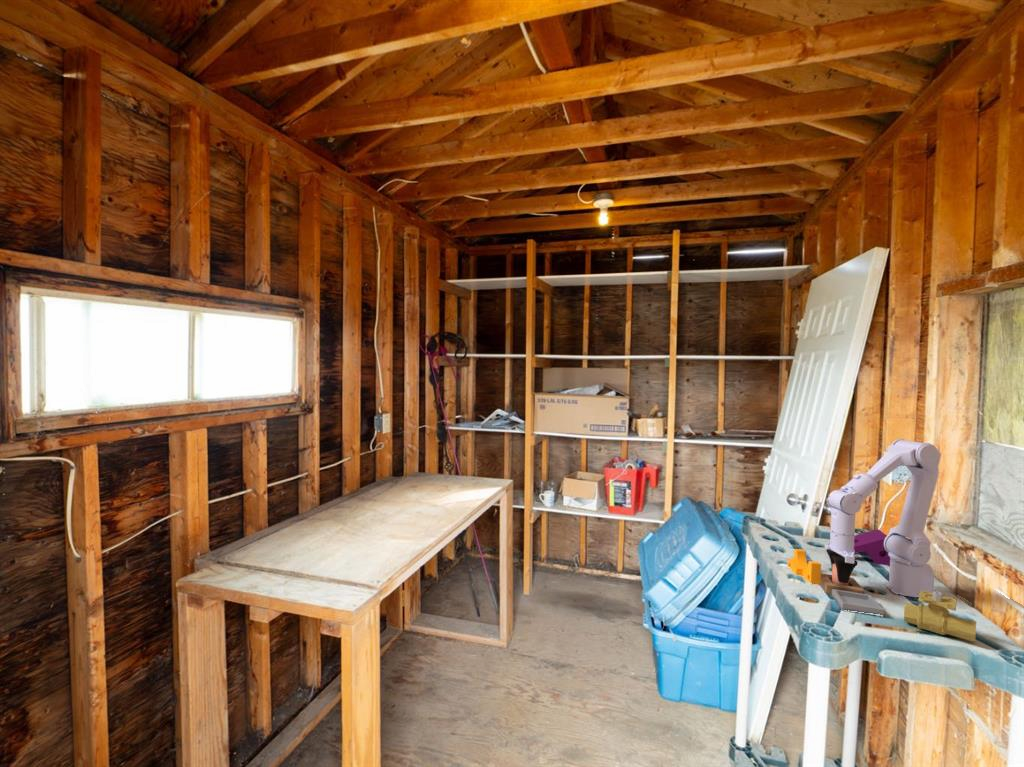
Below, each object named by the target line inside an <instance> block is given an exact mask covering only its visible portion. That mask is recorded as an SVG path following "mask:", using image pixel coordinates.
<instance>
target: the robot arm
mask: <svg viewBox="0 0 1024 767" xmlns="http://www.w3.org/2000/svg"><path fill="white" fill-rule="evenodd" d="M886 450H887V451H886V452H885V454H884V455H883V456H882V457H881V458H879V460H877V462H876V463H874V465H873V466H872V467H870V469H868V471H867V472H865V473H860V472H859V473H857V474H854V475H853V476H852V479H850V480H849V481H848V482H847V483H846V484H844V485H842V486H841V487H840V489H835V490H832V492H830V493H829V494H828V497H826V503H827V505H828V507H829V512H830V530H829V531H830V532H829V533H830V534H829V544H825V545H824V548H825V549H826V550H825V551H826V553H827V554H828V558H829V560H830V565H831V567H832V565H833V564H834V563H835V564H836V568H837V577H838V581H839V582H842V583H848V581H849V578H851V575H852V573H853V571H854V568H856V567H857V565H858V564H859V563H858V562H859V561H857V560H855V559H856V558H855V554H856V553H855V550H854V536H855V535H856V534H855V530H856V514H857V513H858V512H860V511H861V508H862V506H863V503H864V501H865V500H866V499H867V498H868V497H869V496H870V495H871V494H873V493H874V492H875V491H876V490H877V489H878V488H879V483H878V482H880V481H881V480H882V479H884V478H885V477H886V476H888V475H889V474H890V473H892V472H894V471H895V470H896V469H898V468H899V467H906V468H907V469H908V471H909V472H910V473H911V477H910V482H909V486H908V489H907V493H906V497H905V500H904V504H903V508H902V512H901V516H900V520H899V523H898V524H897V525H895V526H893V527H891V528H890V530H889V532H888V534H887V537H886V538H885V540H884V548H885V550H886V551H887V552H888V556H890V565H889V572H888V573H889V574H888V575H889V577H888V578H889V579H888V581H883V582H882V584H883V585H885V587H887V588H888V589H889V590H890V589H891V590H890V591H891V592H892V594H894V593H895V594H894V595H898V594H900V595H899V596H905V597H911V598H917V597H919V594H920V591H921V590H922V591H926V592H930V593H932V594H933V591H935V572H934V570H933V567H932V566H931V565H930V564H928V563H929V561H930V559H931V558H932V553H931V544H932V542H931V540H930V539H929V537H928V536H927V535H926V533H925V532H924V531H925V527H926V525H927V524H926V523H927V519H928V516H929V512H930V507H931V504H932V500H933V497H934V494H935V493H934V492H935V489H936V486H937V481H938V477H939V473H940V472H939V464H940V459H941V456H942V452H940V450H938V448H937V447H936V446H935V445H934V444H933V443H929V442H920V441H913V440H908V439H907V440H906V439H903V438H899V439H895V440H894V441H893V442H892V443H891V444H889V445H888V446H887V448H886ZM854 553H855V554H854Z"/></svg>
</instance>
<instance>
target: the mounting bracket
mask: <svg viewBox="0 0 1024 767" xmlns="http://www.w3.org/2000/svg"><path fill="white" fill-rule="evenodd" d="M887 536H888V534H885V533H884V532H883V531H881V530H880V529H879V528H877V529H873V530H870V531H866V532H862V533H858V534H854V550H855V553H854V555H856V554H857V553H861V552H862V553H864V554H865V555H866V556H868V558H869V559H871V561H873V562H874V563H875V564H877V565H881V564H882V565H884V566H890V556H888V552H887V551H886V550H885V548H884V540H885V538H886V537H887Z"/></svg>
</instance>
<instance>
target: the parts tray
mask: <svg viewBox="0 0 1024 767" xmlns="http://www.w3.org/2000/svg"><path fill="white" fill-rule="evenodd" d="M831 598H833V600H834V601H835V602H836V604H837V605H838V607H839V608H840V609H841V611H843V610H847V611H848V610H849V611H857V612H864V613H873V614H880V615H884V616H885V609H884V608H883V607H882V606H881V605H880V604H879V603H878V602H877V600H876V599H875V598H874V597H873V596H872V594H867V593H866V594H861V593H855V592H849V591H842V590H836V589H832V594H831ZM847 611H846V612H847ZM843 612H844V611H843Z"/></svg>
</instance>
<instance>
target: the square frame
mask: <svg viewBox="0 0 1024 767" xmlns="http://www.w3.org/2000/svg"><path fill="white" fill-rule="evenodd" d="M819 586H820V587H821V588H822V589H823V591H824V592H825V594H827V595H832V589H836V590H842V591H849V592H855V593H861V594H865V592H866V591H865V589H864V588H863V587H862V586H861V585H860V584H859V583H858V582H857V581H856V579H855V578H854V577H850V578H849V586H846V585H840V584H833V583H832V574H829V573H828V574H827V573H824V572H823V573H822V572H821V581H820V585H819Z"/></svg>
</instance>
